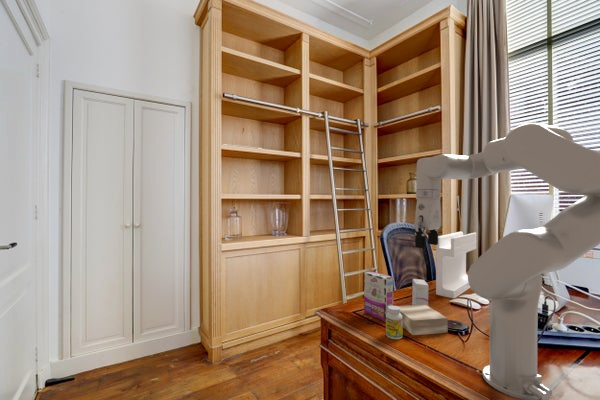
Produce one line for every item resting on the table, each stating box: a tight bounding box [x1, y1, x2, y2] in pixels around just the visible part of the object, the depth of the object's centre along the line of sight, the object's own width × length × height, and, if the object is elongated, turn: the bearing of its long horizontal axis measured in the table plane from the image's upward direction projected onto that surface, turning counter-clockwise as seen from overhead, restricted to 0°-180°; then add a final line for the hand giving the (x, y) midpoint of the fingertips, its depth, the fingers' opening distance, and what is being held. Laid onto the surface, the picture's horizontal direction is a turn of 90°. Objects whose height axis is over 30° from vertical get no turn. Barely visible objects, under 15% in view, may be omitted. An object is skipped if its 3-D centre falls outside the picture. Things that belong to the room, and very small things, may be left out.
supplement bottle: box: [385, 305, 404, 340], centre depth 96 cm, size 5×5×10 cm
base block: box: [397, 304, 449, 336], centre depth 104 cm, size 13×13×5 cm
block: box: [435, 231, 478, 299], centre depth 148 cm, size 35×8×28 cm, turn 134°
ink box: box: [411, 278, 430, 306], centre depth 119 cm, size 9×5×12 cm, turn 168°
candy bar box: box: [363, 270, 394, 323], centre depth 113 cm, size 11×5×16 cm, turn 33°
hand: (426, 246), depth 96 cm, fingers open, 9 cm apart
